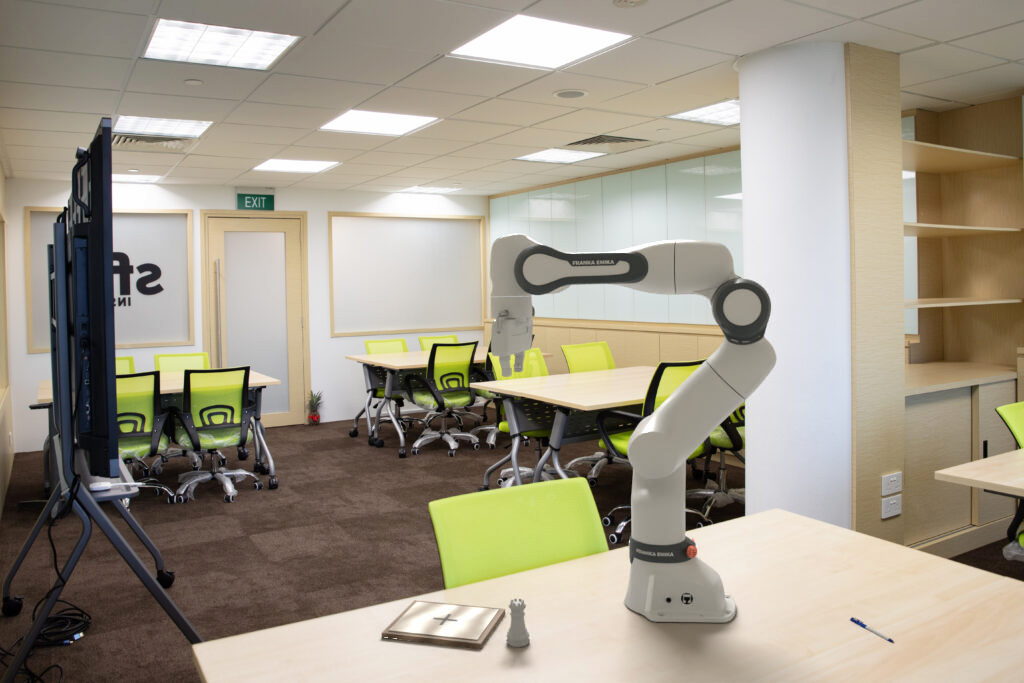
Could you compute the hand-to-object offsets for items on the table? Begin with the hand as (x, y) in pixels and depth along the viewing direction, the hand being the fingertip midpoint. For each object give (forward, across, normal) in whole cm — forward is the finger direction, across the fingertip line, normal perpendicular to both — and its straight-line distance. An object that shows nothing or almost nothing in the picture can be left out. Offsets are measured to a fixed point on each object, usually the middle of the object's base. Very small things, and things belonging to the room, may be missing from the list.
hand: (512, 374), depth 164 cm
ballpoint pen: (+48, -4, -71) cm, 86 cm away
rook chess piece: (+48, -24, -7) cm, 54 cm away
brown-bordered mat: (+48, -20, +9) cm, 53 cm away
